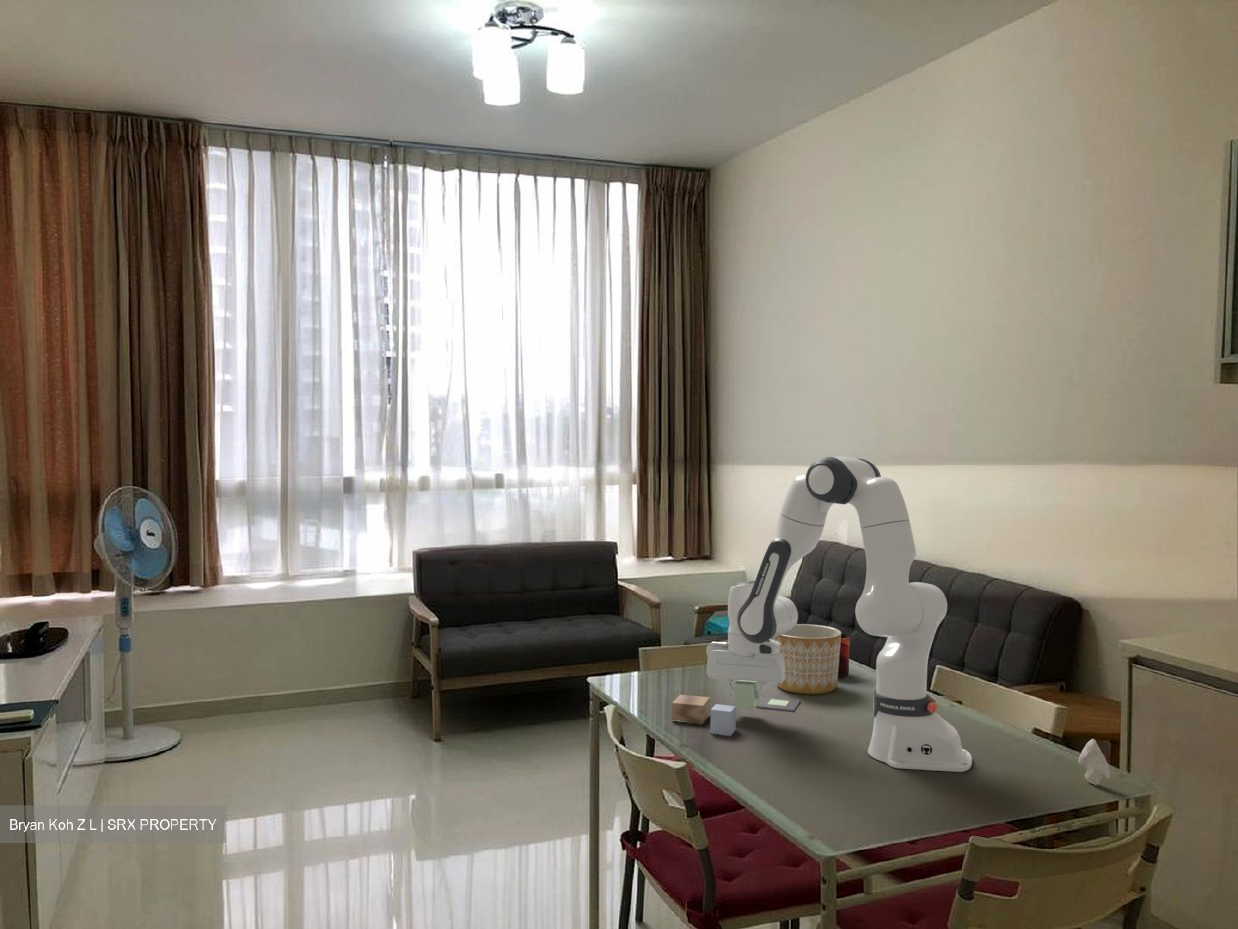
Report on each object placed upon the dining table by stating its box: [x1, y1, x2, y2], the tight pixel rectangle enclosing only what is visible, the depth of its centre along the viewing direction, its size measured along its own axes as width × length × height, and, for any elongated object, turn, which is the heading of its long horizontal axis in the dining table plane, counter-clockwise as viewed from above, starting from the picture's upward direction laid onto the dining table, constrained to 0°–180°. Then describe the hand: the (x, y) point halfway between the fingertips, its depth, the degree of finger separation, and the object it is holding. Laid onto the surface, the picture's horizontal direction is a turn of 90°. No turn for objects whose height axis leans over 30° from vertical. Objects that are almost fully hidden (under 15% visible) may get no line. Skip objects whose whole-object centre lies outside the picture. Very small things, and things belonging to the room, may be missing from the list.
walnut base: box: [671, 694, 711, 725], centre depth 246 cm, size 8×8×5 cm
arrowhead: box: [1077, 738, 1111, 786], centre depth 200 cm, size 8×3×10 cm, turn 21°
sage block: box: [733, 680, 759, 710], centre depth 247 cm, size 5×5×6 cm
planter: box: [772, 623, 842, 696], centre depth 276 cm, size 19×19×16 cm
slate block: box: [710, 703, 737, 737], centre depth 236 cm, size 5×5×6 cm
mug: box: [837, 632, 850, 680], centre depth 293 cm, size 10×14×12 cm
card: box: [755, 695, 801, 713], centre depth 259 cm, size 10×10×1 cm
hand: (745, 697), depth 247 cm, fingers closed on sage block, 5 cm apart
